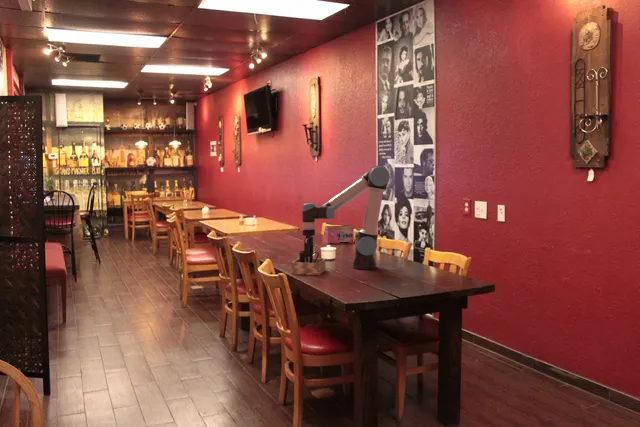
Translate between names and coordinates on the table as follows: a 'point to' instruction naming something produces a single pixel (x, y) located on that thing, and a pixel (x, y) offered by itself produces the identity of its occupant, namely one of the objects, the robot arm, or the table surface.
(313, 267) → the open wooden box
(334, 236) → the gum box
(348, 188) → the robot arm
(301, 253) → the mug
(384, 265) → the table surface
